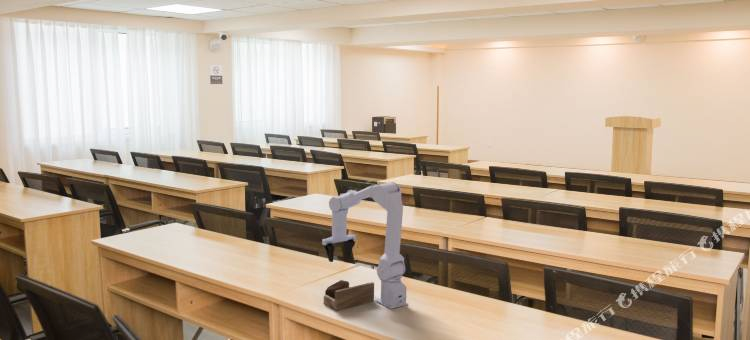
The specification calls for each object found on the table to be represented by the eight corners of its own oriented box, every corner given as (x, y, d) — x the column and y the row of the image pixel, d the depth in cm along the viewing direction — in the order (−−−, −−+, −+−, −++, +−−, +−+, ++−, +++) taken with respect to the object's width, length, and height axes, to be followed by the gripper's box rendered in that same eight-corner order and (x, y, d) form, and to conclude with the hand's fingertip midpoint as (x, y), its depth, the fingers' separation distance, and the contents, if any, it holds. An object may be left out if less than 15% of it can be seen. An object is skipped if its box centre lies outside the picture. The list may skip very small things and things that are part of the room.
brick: (340, 291, 228) (340, 279, 227) (349, 293, 226) (349, 281, 225) (324, 299, 219) (324, 287, 218) (333, 301, 217) (333, 289, 216)
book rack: (373, 301, 217) (374, 283, 216) (336, 310, 207) (336, 291, 206) (360, 294, 224) (360, 276, 223) (323, 303, 214) (323, 284, 213)
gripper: (349, 222, 238) (348, 254, 240) (318, 226, 230) (318, 260, 232) (358, 225, 233) (358, 258, 235) (327, 230, 224) (327, 264, 226)
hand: (339, 259), depth 233 cm, fingers open, 7 cm apart
